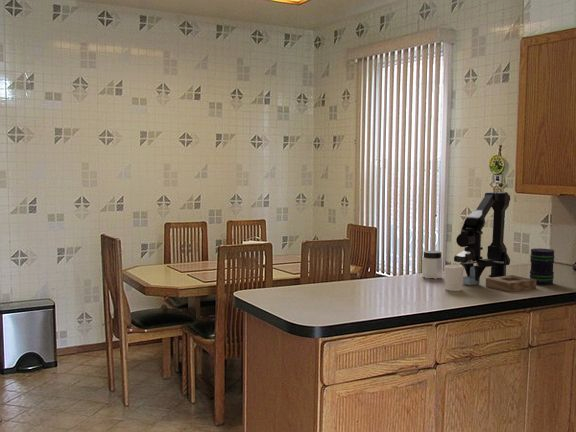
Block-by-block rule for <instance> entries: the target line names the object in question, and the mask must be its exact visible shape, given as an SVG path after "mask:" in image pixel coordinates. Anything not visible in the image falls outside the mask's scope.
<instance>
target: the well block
mask: <svg viewBox="0 0 576 432" xmlns="http://www.w3.org/2000/svg"><path fill="white" fill-rule="evenodd" d="M485 287H486V288H491V289H494V290H495V289H496V290H500V291H503V292H506V293H507V292H508V293H510V292H511V293H513V292H520V291H528V290H534V289H537V285H536V280H534V279H530V277H529V278H528V277H523V276H518V275H514V274H511V275H506V276H501V277H486V278H485Z"/></svg>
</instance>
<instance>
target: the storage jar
mask: <svg viewBox="0 0 576 432" xmlns="http://www.w3.org/2000/svg"><path fill="white" fill-rule="evenodd" d="M529 257H530V258H529V259H530V261H529V262H530V270H529V279H534V280H536V286H542V287H543V286H548V287H549V286H553V285H554V275H555V272H554V263H555V250H554V249H549V248H537V247H536V248H531V249H530V256H529Z"/></svg>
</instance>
